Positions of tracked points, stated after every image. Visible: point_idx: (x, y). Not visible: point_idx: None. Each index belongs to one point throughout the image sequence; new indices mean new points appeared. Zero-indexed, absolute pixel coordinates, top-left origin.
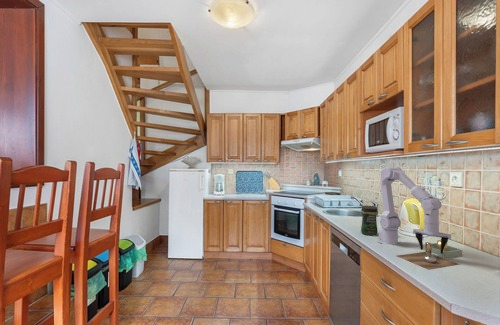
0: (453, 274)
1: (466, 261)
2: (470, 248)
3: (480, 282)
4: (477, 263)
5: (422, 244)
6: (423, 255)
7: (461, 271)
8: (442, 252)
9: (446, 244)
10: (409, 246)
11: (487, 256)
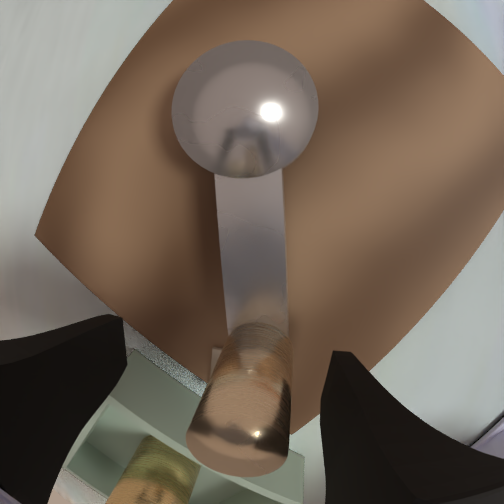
0: (104, 5)
1: None
2: None
3: (17, 17)
4: None
5: (331, 434)
6: (316, 313)
7: (48, 115)
8: (97, 317)
9: (108, 498)
10: None
11: None
